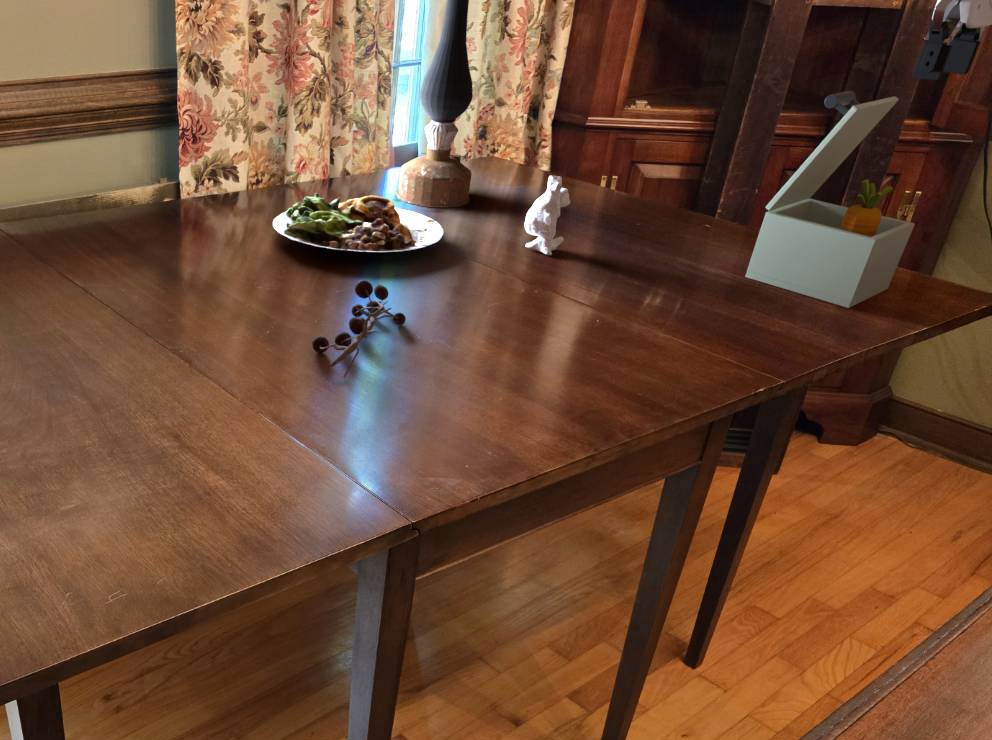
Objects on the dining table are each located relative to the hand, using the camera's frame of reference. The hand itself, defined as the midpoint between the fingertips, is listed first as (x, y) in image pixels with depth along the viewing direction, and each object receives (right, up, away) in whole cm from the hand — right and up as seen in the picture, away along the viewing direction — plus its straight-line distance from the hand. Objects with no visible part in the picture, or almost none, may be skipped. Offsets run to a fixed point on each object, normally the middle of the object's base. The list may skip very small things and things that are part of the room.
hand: (940, 75), depth 126 cm
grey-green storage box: (-4, -21, +22) cm, 31 cm away
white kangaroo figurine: (-44, -14, +31) cm, 56 cm away
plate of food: (-74, -12, +32) cm, 82 cm away
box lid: (-6, -5, +15) cm, 16 cm away
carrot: (-2, -22, +20) cm, 30 cm away
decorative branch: (-77, -36, -3) cm, 85 cm away
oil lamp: (-58, +3, +55) cm, 80 cm away
